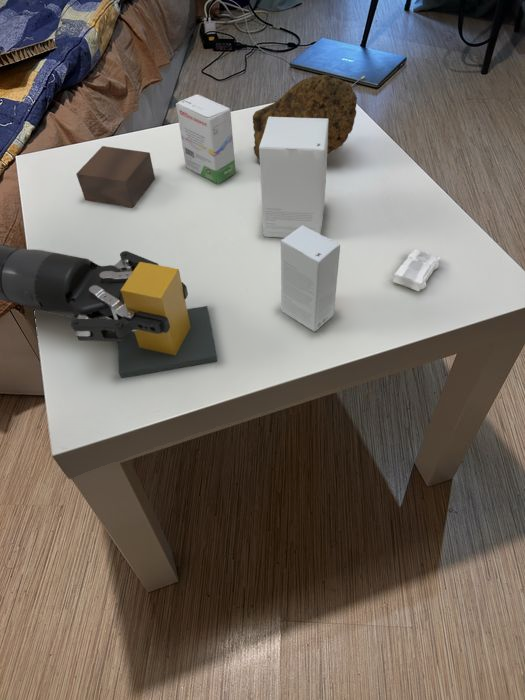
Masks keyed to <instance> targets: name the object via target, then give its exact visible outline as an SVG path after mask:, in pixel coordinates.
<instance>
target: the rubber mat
mask: <svg viewBox="0 0 525 700" xmlns="http://www.w3.org/2000/svg"><path fill="white" fill-rule="evenodd" d="M187 312H188V317H189V321H190V326H191V327H190V329H189V331H188V333H187V335H186V337H185V339H184V341H183V343H182V344H181V346H180V348H179V350H178V352H177V354H176V356H175V355H171V354H166V353H162V352H158V351H153V350H149V349H144V348H140V347H139V344H138V341H137V338H136V335H135V332H134V331H131V332H130V333H128V334H127V339H126V340H125V341H117V348H118V349H117V353H118V357H117V358H118V374H119V377H120V378H121V379H122V378H129V377H134V376H139V375H145V374H150V373H151V374H152V373H157V372H162V371H169V370H174V369H179V368H186V367H191V366H192V367H193V366H197V365H203V364H209V363H214V362H218V357H217V352H216V346H215V342H214V336H213V331H212V324H211V319H210V313H209V309H208V305H205V306H197V307H191V308H187Z"/></svg>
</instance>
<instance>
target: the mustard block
mask: <svg viewBox="0 0 525 700" xmlns="http://www.w3.org/2000/svg"><path fill="white" fill-rule="evenodd" d="M180 273H181V272H180V269H179V268H175V267H169V266H166V265H165V266H164V265H155V264H149V263H144V262H139V264H138V265H137V267H136V268H135V270H134V271H133V272H132V274H131V275H130V277H129V278H128V280H127V281H126V283H125V284H124V286H123V287H122V289H121V293H122V296H123V299H124V302H125V306H126V308H130V309H131V310H133V311H134V313H137V311H142V312H146V313H151V314H156V315H161V316H165V317H167V318H168V320H169V324H170V328H169V330H168V332H167V333H164V332H162V333H160V334H156V333H151V332H146V331H142V330H136V331H134V332H135V335H136V338H137V341H138V344H139V347H140V348H144V349H149V350H153V351H158V352H162V353H166V354H171V355H175V356H176V354H177V352H178V350H179V348H180V346H181V344H182V343H183V341H184V339H185V337H186V335H187V333H188V331H189V329H190V327H191V326H190V321H189V317H188V312H187V309H188V307H187V302H186V299H185V297H184V293H183V287H182V282H183V281H182V279H181V274H180Z"/></svg>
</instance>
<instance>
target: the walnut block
mask: <svg viewBox="0 0 525 700" xmlns="http://www.w3.org/2000/svg"><path fill="white" fill-rule="evenodd" d="M152 161H153V160H152V157H151V152H148V151H141V150H133V149H127V148H121V147H120V148H119V147H114V146H113V147H112V146H106V145H101V147H99V149H98V150H97V151H96V152H95V153H94V154H93V155H92V157H91V158H90V159H89V160H88V161H87V162H86V163H85V164H84V165H83V166H82V167H81V168H80V169H79V170H78V171H77V172H76V178H77V180H78V184H79V187H80V189H81V192H82V196H83V198H84V200H85V201H90V202H95V203H101V204H106V205H107V204H108V205H114V206H118V207H125V208H132V209H133V208H134V207H135V206H136V204H137V203H138V202H139V200H140V199H141V198H142V197H143V195H144V194H145V193H146V191H147V190H148V189H149V187H150V186H151V185H152V183H154V181H155V180H156V176H155V170H154V166H153V162H152Z"/></svg>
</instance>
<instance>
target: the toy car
mask: <svg viewBox="0 0 525 700" xmlns="http://www.w3.org/2000/svg"><path fill="white" fill-rule="evenodd" d="M440 260H441V256H437V255H434V254H431V253H428V252H426V251H423V250H420V249H417V248H414V249H413V250H412V251H411V252H409V254H408V255H407V258H406V259H405V260H404V262H403V263H402V264H401V265H400V266H399V267H398V269H397V271H395V272H394V273H393V278H392V282H394V283H395V284H399V285H401V286H403V287H406V288H409V289H411V290H414V291H417V292H420V291H421V290H424V289H425V288H426V287H427V281H428V280H429V278H430V277H431V275H432V273H433V272H434V270H437V269H438V268H439V266H440V263H439V262H440Z"/></svg>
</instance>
